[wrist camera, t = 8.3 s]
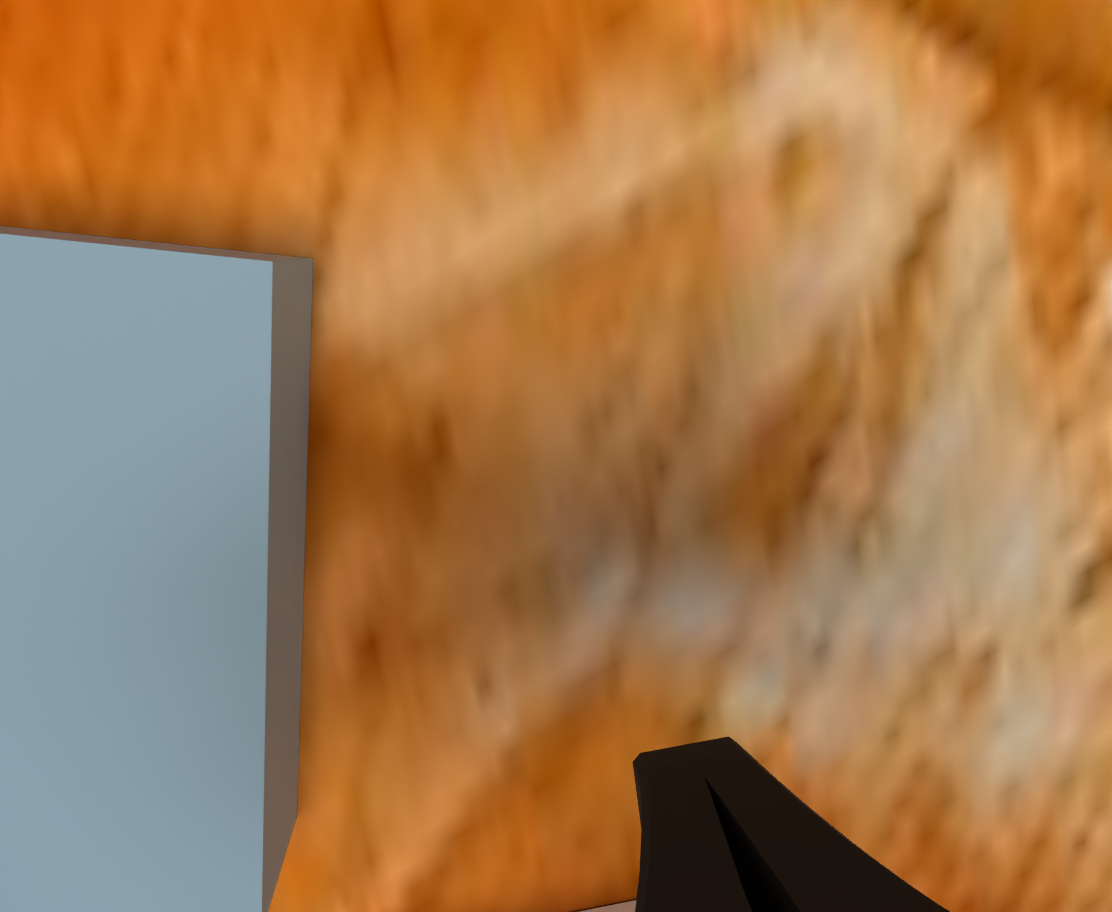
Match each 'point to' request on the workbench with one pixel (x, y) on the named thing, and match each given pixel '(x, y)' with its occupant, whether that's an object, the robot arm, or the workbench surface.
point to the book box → (149, 571)
